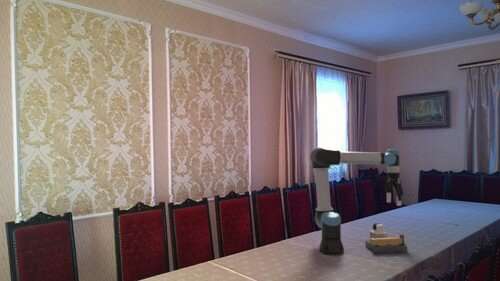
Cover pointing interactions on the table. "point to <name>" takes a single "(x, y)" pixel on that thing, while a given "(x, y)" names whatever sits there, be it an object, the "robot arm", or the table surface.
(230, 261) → the table surface
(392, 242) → the bar
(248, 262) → the table surface
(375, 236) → the container
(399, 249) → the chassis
